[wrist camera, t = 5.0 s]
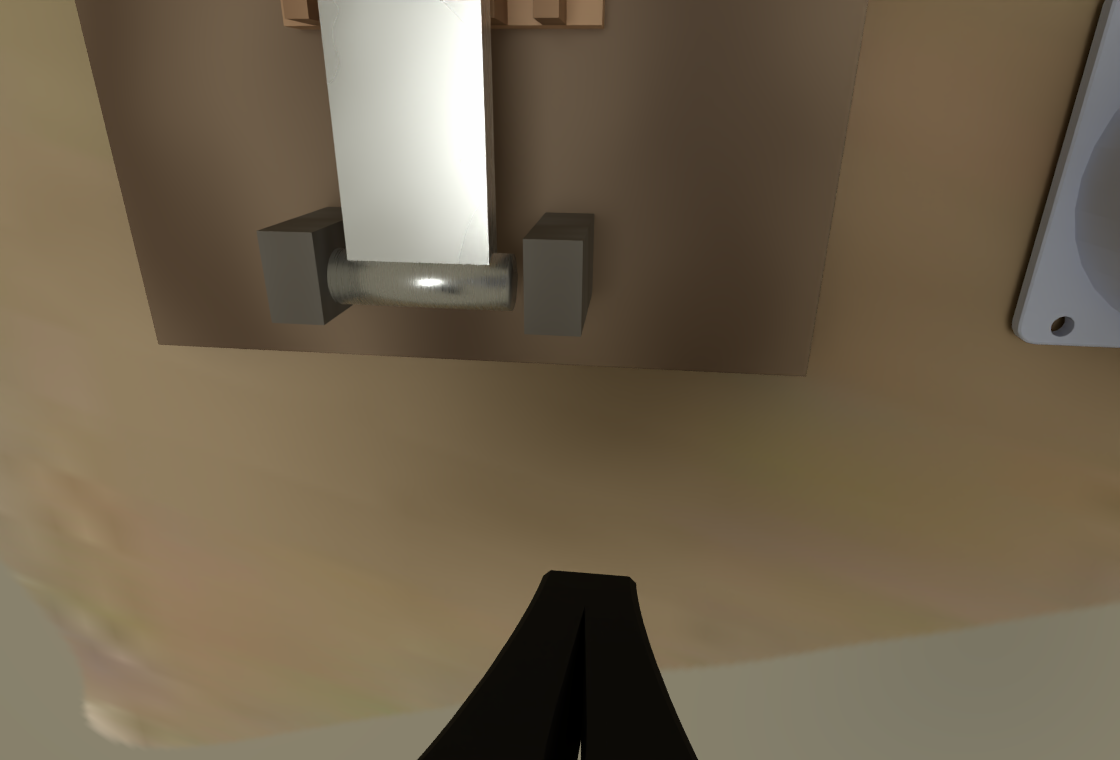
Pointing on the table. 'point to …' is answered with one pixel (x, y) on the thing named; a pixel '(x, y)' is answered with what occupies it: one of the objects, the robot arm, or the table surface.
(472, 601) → the table surface
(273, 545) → the table surface
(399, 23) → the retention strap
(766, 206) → the strap board
